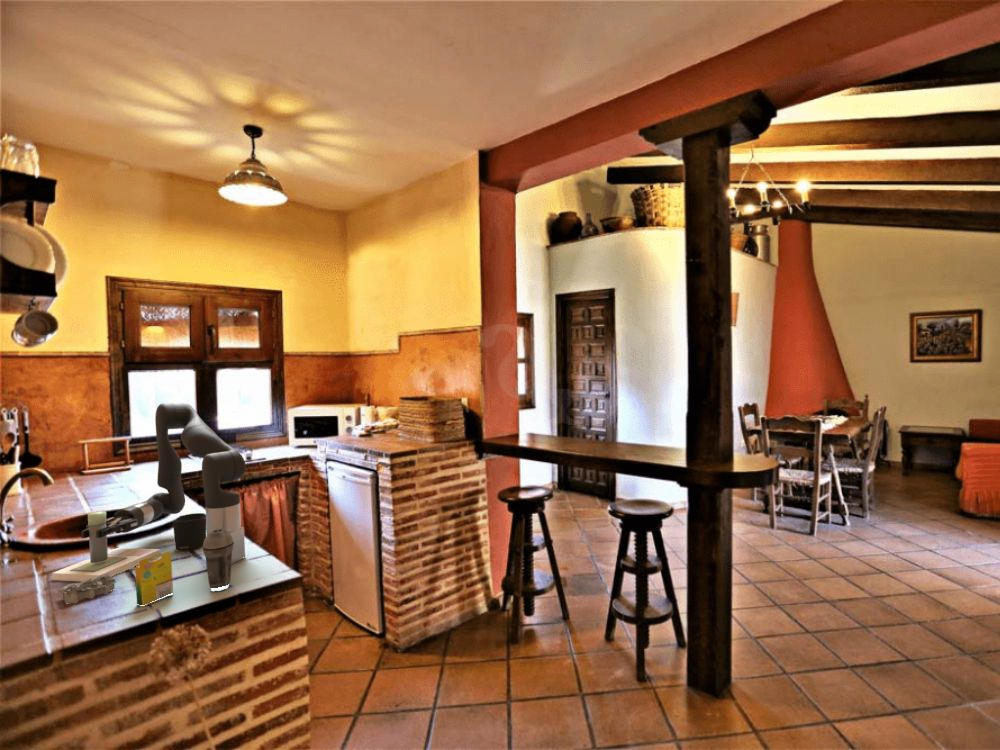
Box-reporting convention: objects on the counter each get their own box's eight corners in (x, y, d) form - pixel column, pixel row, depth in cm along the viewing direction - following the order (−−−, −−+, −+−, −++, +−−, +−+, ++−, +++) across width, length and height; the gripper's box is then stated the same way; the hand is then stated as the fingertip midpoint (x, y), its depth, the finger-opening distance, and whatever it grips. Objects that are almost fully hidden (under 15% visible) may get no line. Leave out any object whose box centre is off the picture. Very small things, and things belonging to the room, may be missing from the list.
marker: (111, 557, 149) (109, 511, 148) (98, 563, 145) (96, 515, 144) (100, 557, 149) (97, 510, 149) (86, 562, 145) (83, 515, 145)
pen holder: (168, 549, 164) (167, 519, 164) (198, 540, 172) (197, 511, 172) (183, 554, 159) (181, 523, 159) (213, 544, 167) (211, 515, 167)
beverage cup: (203, 597, 127) (200, 519, 127) (205, 586, 134) (202, 512, 133) (235, 590, 131) (232, 514, 130) (235, 580, 137) (232, 508, 137)
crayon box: (168, 593, 130) (166, 548, 130) (174, 595, 129) (172, 550, 129) (135, 605, 124) (134, 558, 124) (141, 607, 122) (139, 560, 122)
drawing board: (160, 555, 158) (160, 548, 158) (99, 582, 139) (99, 574, 139) (117, 553, 161) (117, 547, 161) (52, 580, 142) (51, 572, 142)
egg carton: (64, 607, 125) (63, 591, 124) (60, 599, 130) (59, 583, 130) (117, 592, 132) (116, 577, 132) (111, 584, 137) (110, 570, 137)
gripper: (111, 506, 161) (64, 522, 144) (155, 504, 161) (113, 521, 144) (112, 529, 161) (66, 548, 144) (156, 527, 161) (114, 546, 144)
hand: (90, 534), depth 144 cm, fingers closed on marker, 3 cm apart
